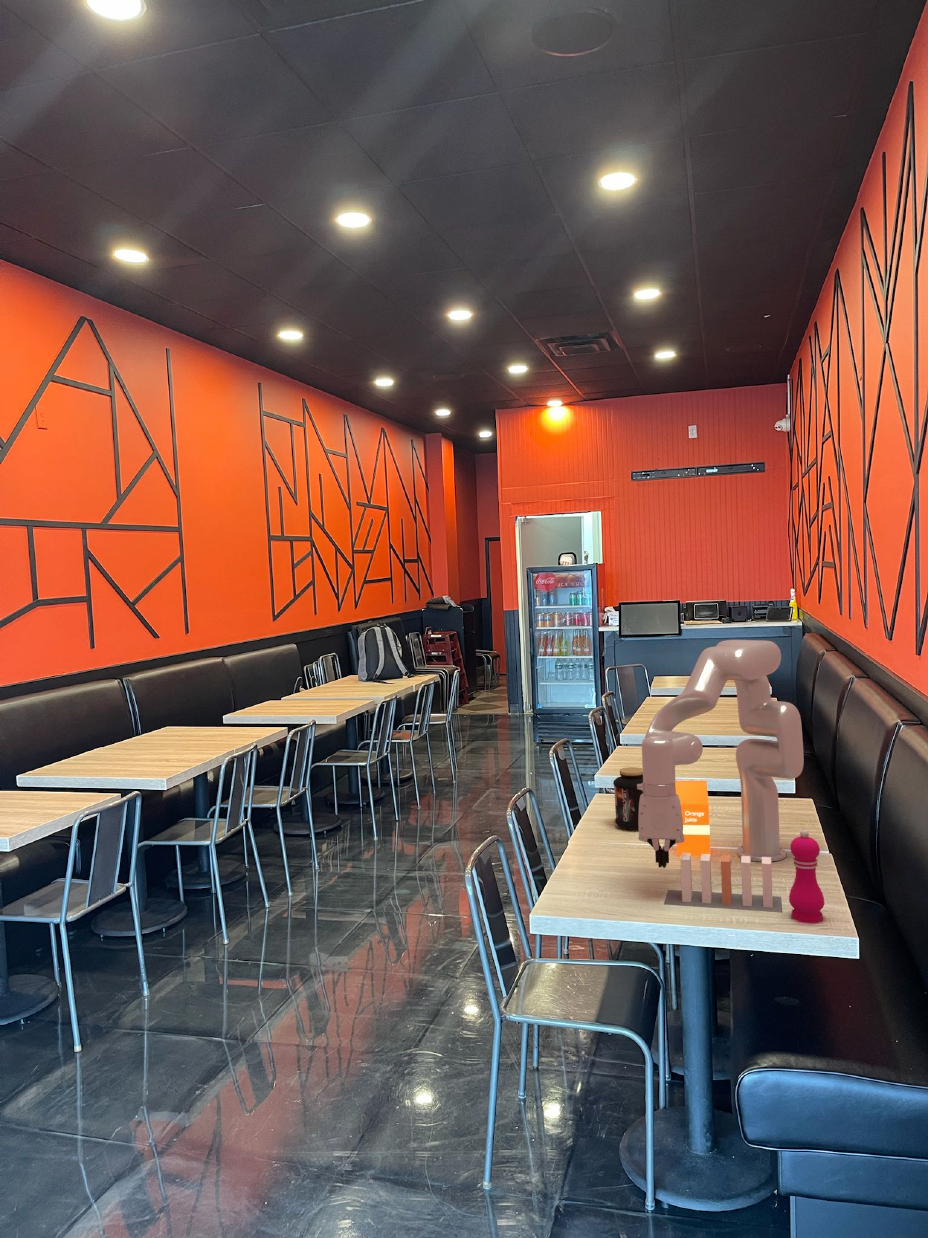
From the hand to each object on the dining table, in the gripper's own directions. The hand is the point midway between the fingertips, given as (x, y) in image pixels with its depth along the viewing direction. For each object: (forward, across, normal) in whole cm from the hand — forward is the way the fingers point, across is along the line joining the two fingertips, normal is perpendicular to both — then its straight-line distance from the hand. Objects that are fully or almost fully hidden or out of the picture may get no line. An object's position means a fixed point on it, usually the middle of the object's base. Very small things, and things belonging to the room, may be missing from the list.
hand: (662, 865), depth 207 cm
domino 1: (+7, +6, 0) cm, 9 cm away
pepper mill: (+8, +32, -7) cm, 33 cm away
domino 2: (+7, +10, 0) cm, 12 cm away
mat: (+8, +14, 0) cm, 16 cm away
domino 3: (+7, +14, 0) cm, 16 cm away
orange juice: (+8, +4, +38) cm, 39 cm away
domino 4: (+7, +19, 0) cm, 20 cm away
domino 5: (+7, +24, 0) cm, 25 cm away
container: (+8, -15, +60) cm, 62 cm away
